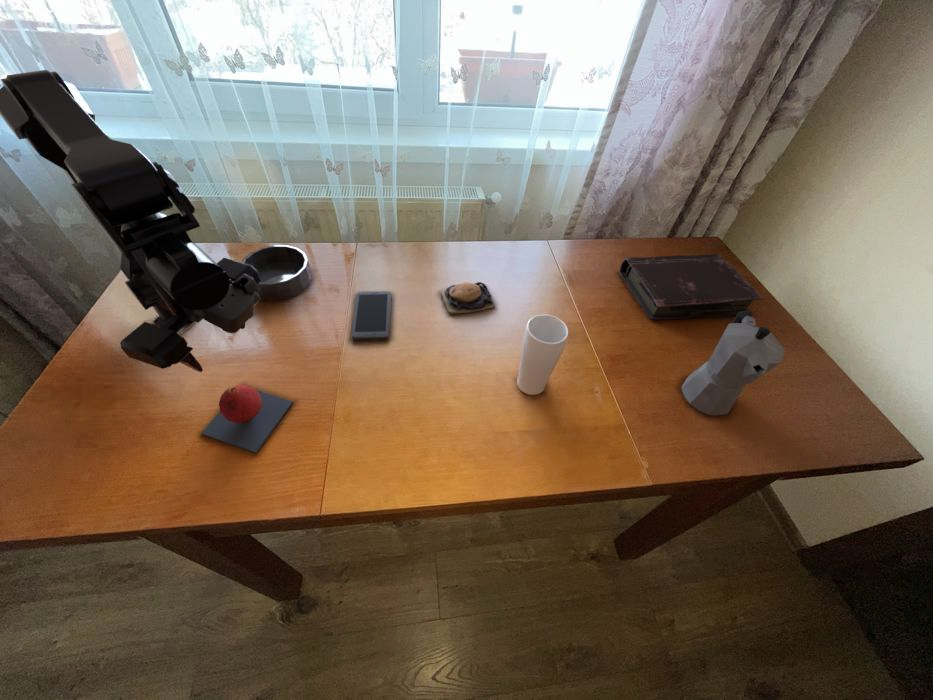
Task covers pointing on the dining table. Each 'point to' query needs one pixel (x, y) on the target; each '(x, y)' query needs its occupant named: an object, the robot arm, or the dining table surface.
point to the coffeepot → (733, 365)
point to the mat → (250, 424)
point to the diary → (687, 286)
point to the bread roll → (467, 298)
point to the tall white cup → (540, 352)
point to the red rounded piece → (240, 403)
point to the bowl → (280, 271)
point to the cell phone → (371, 315)
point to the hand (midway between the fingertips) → (221, 348)
